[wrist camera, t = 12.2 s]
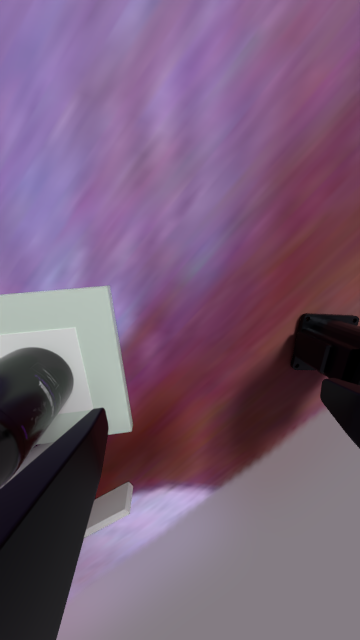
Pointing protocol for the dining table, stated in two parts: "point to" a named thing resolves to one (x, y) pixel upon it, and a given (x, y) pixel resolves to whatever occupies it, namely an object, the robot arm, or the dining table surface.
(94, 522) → the holster
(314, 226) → the dining table surface
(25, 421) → the supplement bottle
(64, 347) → the docking plate
